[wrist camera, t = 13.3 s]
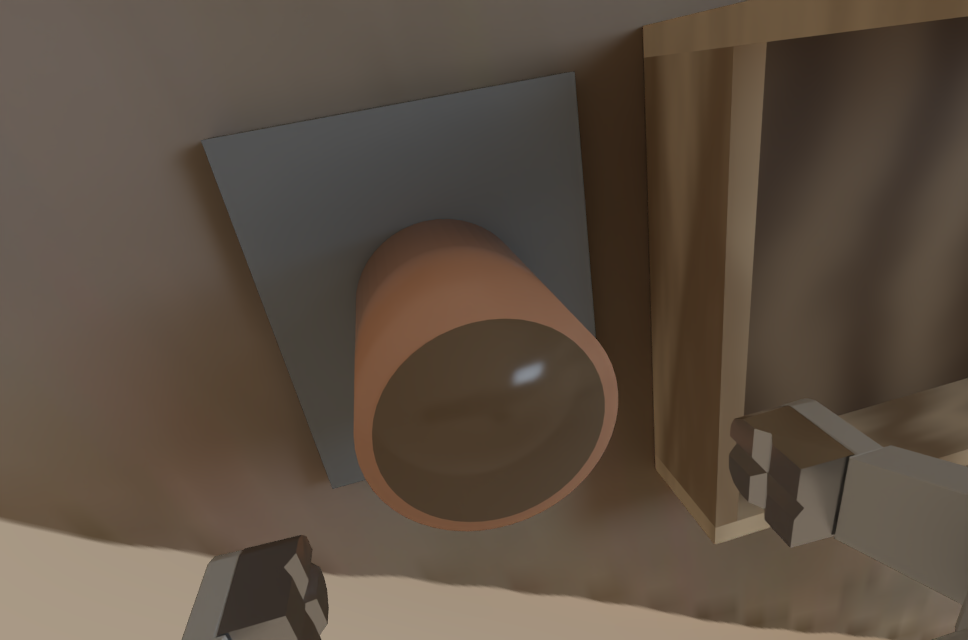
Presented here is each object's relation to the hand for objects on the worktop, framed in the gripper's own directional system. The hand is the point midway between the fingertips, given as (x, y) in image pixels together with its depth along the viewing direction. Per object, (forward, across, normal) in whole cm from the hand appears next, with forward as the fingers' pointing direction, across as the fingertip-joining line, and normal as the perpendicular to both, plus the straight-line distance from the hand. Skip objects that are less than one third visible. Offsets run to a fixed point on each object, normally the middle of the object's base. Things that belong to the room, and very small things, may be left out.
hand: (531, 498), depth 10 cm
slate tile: (+12, 0, 0) cm, 12 cm away
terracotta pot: (+11, 0, 0) cm, 11 cm away
